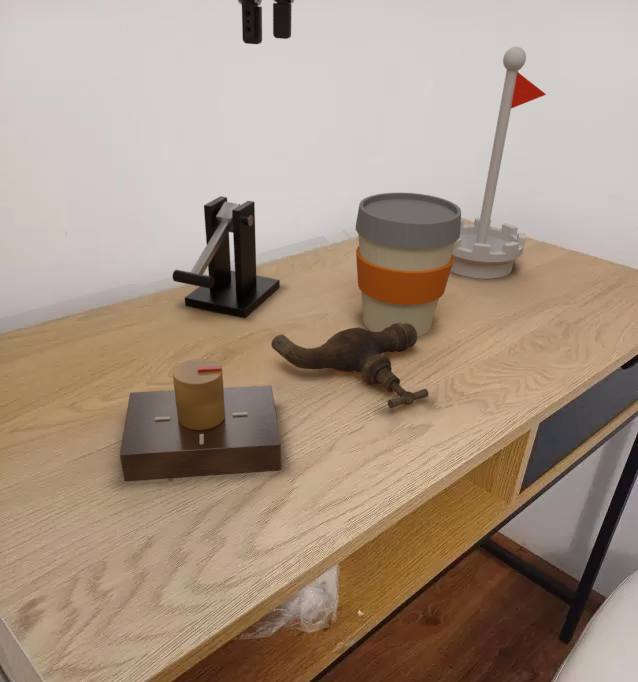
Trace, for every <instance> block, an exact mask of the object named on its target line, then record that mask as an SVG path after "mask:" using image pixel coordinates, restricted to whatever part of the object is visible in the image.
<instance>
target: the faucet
mask: <svg viewBox="0 0 638 682" xmlns="http://www.w3.org/2000/svg"><path fill="white" fill-rule="evenodd" d="M417 342H418V337H417V332H416V329H415V328H414V327H413V326H412V325H411V324H408V323H404V324H401V323H396V324H392V325H391V326H390V327H387V328H385V329H384V330H383V331H380V332H372V331H371V330H369V329H366V328H363V327H359V326H358V327H351V328H347V329H344V330H340V331H338V332H336V333H334V335H332V336H331V337H330V338H329V339H327V340H326V341H325V342H324V343H323V344H321V345H319V346H316V347H312V348H311V347H309V348H308V347H307V348H306V347H303V346H300V345H298V344H296V343H294V342H293V341H292V340H290V339H289V338H288V337H287V336H286V335H284V334H277V335H276V336H275V337H273V339H272V340H271V343H270V344H271V345H270V346H271V348H272V349H273V350H274V351H275V352H276V353H278V355H280V356H281V357H282V358H283V359H285V360H286V362H288V363H290V364H291V365H293V366H294V367H295V368H299V369H303V370H313V371H314V370H324V369H327V370H329V369H330V370H335V371H339V372H346V373H352V372H355V373H359V374H360V375H361V380H362V381H363V383H365V384H366V385H371V386H373V385H375V386H381V387H382V388H383V389H384V390H385V391H386V392H388V393H392V392H394V393H395V394H396V395H397V396H398V397H395V398H392V399H388V400H387V406H388V408H389V409H394V408H397V407H400V406H402V405H406V406H411V405H412V404H413V403H414V402H415V401H417V400H421V399H424V398H427V397H429V390H428V389H426V388H423V389H420V390H417V391H414V392H411V391H407V390H406V389H405V388H404V387H402V386H401V385H400V384H401V379H400V378H399V377H398V376H396V374H395V373H394V372H392V370H393V369H392V362H391V359H390V357H389V356H388V355H386V354H384V353H391V354H392V353H404V352H406V351H407V350H409V349H410V348H413V347H414V346H415V345H416V343H417Z"/></svg>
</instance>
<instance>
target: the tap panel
mask: <svg viewBox="0 0 638 682" xmlns="http://www.w3.org/2000/svg"><path fill="white" fill-rule="evenodd" d="M223 389H224V404H225V418H224V420H223V421H222V423H221V424H219V425H218V426H216V427H213V428H211V429H206V430H192V429H188V428H186V427H184V426H182V425H181V424H180V423H179V421H178V416H177V408H176V399H175V391H174V389H173V390H155V391H153V390H152V391H135V392H134V391H133V392H130V393H129V397H128V402H127V408H126V414H125V421H124V427H123V433H122V439H121V444H120V445H121V446H120V451H119V458H120V463H121V468H122V474H123V479H124V481H125V482H128V481H131V482H132V481H142V480H159V479H173V478H186V477H201V476H214V475H229V474H243V473H256V472H271V471H272V472H273V471H274V472H275V471H281V470H282V441H281V436H280V430H279V424H278V423H279V422H278V419H277V418H278V417H277V412H276V406H275V399H274V393H273V387H272V385H251V386H249V385H248V386H231V387H223Z"/></svg>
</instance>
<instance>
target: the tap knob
mask: <svg viewBox="0 0 638 682" xmlns="http://www.w3.org/2000/svg"><path fill="white" fill-rule="evenodd" d="M223 374H224V373H223V368H222V365H220V363H217V362H216V361H214V360H210V359H205V358H194V359H189V360H184V361H182V362H180V363H178V364H177V365H176V366H175V367H174V368H173V370H172V382H173V390H174V391H175V399H176V408H177V416H178V421H179V423H180V424H181V425H182V426H184V427H186V428H188V429H192V430H206V429H211V428H213V427H216V426H218V425H219V424H221V423H222V421H223V420H224V418H225V404H224V389H223V388H224V376H223Z"/></svg>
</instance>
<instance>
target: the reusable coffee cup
mask: <svg viewBox="0 0 638 682" xmlns="http://www.w3.org/2000/svg"><path fill="white" fill-rule="evenodd" d="M461 219H462V210H461V207H460V206H459V205H457V204H456V203H454V202H452V201H450V200H447V199H446V198H442V197H438V196H435V195H430V194H423V193H415V192H385V193H378V194H374V195H370V196H367V197H364V198H363V199H361V201H360V202H359V204H358V211H357V216H356V222H355V231H356V233H357V234H358V235H357V236H358V246H357V247H356V249H355V257H356V258H355V259H356V274H357V287H358V289H359V290H360V291H361V305H362V322H363V325H364V326H365V327H366V328H367V330H370V331H372V332H380V331H383V330H384V329H385V328H387V327H390V326H391V325H392V324H396V323H401V324H404V323H408V324H411V325H412V326H413V327H414V328H415V329H416V332H417V338H418V337H420V336H424V335H426V334H427V333H429V331H430V330H431V327H432V324H433V320H434V317H435V313H436V310H437V307H438V303H439V300H440V299H441V298H442V297H443V296H444V294H445V291H446V288H447V286H448V285H447V284H448V281H449V277H450V274H451V268H452V264H453V261H454V257H453V254H452V252H453V249H454V245H455V242H456V241H457V240H458V239H459V237H460V226H461Z"/></svg>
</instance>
